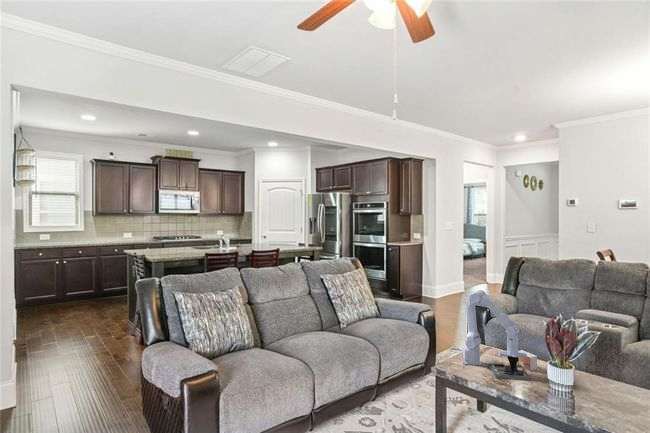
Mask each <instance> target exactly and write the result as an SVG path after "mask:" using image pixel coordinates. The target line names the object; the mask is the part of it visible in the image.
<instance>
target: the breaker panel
mask: <svg viewBox="0 0 650 433" xmlns="http://www.w3.org/2000/svg"><path fill="white" fill-rule="evenodd" d="M504 364H505V363H497V362H494V363H493V362H488V368H489V370H490V371H491V372H492V374H493V376H494V377H495V378H496V379H506V380H521V381H522V380H523V381H532V376H531V375H529V374H528V372H527V371H526V370H525V368H523V367H522V365H517V364H516V366H515V370H511V371H505V370H504Z"/></svg>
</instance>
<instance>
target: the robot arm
mask: <svg viewBox="0 0 650 433" xmlns="http://www.w3.org/2000/svg"><path fill="white" fill-rule="evenodd" d="M478 304H480V305H482V306H483V305H484V306H486V307H487V308H488V309H489V310H490V312H492V313H493V314H494V316H495V317H496V321H498V323H500V325H501V326H502V327H503V328H504V329H505V333H506V351H498V356H499V357H501V358H502V357H506V358H507V360H508V363H509V364H510V366H511V370H515V366H516V364H517V362H518V361H519V358H518V357H523V358H527V354H525V353H518V351H519V333H520V330H521V329H520V326H519V325H518V324H517V323H515V322H514V321H512V320H511V319H510V317H509V315H508V314H507V313H505V312H501V310H500V309H499V307H497V305H496V304H495V303H494V302H493V300H491V297H489V295H488V294H487V293H486V292H485V291H484V290H482V289H479V290H477V291H474V292H473V291H472V293H470V294H469V295H468V298H467V299H466V301H465V312H466V313H465V314H466V322H467V334H466V336H465V337H466V340H465V347H462V360H463V363H464V364H465V365H470V366H471V365H473V366H482V362H481V347H480V346H481V344H482V339H481V337H480V333H479V332H478V326H477V324H478V322H477V313H476V305H478Z"/></svg>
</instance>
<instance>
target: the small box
mask: <svg viewBox="0 0 650 433" xmlns="http://www.w3.org/2000/svg"><path fill="white" fill-rule="evenodd" d="M518 353H525V354H527V358H523V357H518V358H519V361H518V362H517V365H522V368H523V369H524V370H525V369H526V370H527V371H536V370H538V355H535V354H533V353H530V352H528V351H526V350H522V349H521V350H518Z"/></svg>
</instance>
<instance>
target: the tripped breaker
mask: <svg viewBox="0 0 650 433" xmlns="http://www.w3.org/2000/svg"><path fill="white" fill-rule="evenodd" d="M503 364H504V370H505V371H511V366H510V363H509V362H507V363H505V362H504V363H503Z"/></svg>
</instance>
